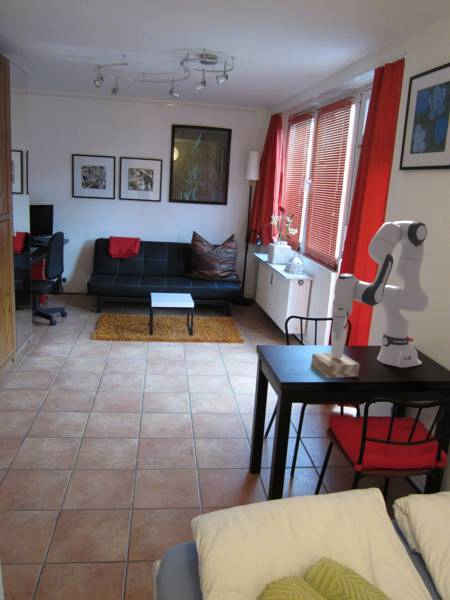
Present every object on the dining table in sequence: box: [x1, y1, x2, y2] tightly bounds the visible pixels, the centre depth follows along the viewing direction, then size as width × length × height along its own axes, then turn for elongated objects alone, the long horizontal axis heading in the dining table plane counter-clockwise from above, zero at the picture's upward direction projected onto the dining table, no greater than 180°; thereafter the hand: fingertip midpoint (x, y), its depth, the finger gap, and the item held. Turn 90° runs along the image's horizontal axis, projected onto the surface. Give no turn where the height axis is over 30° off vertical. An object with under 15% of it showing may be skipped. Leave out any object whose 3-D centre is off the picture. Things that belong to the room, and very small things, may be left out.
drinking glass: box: [330, 325, 348, 358], centre depth 239 cm, size 7×7×15 cm
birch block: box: [310, 352, 360, 379], centre depth 242 cm, size 16×16×6 cm
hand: (338, 337), depth 238 cm, fingers closed on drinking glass, 6 cm apart
